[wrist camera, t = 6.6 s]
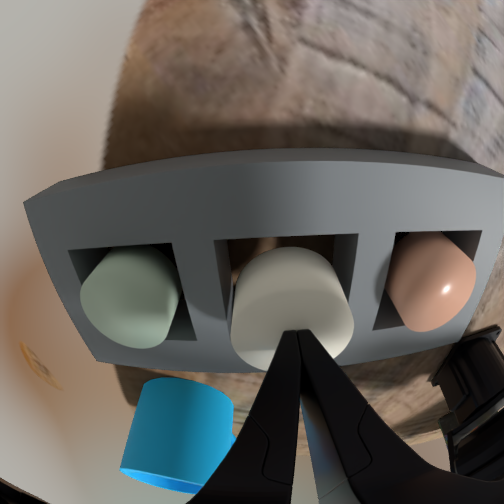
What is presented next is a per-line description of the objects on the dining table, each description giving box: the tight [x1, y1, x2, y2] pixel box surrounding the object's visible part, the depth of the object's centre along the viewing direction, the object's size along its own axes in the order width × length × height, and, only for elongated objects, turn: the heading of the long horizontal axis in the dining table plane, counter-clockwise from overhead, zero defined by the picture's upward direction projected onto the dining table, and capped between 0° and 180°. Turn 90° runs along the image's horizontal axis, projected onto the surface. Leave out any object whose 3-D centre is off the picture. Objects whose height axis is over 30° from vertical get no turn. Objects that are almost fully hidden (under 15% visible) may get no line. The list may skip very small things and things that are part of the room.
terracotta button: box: [384, 231, 476, 332], centre depth 10 cm, size 4×4×2 cm
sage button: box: [80, 244, 182, 349], centre depth 11 cm, size 4×4×2 cm
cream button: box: [230, 247, 354, 371], centre depth 9 cm, size 4×4×2 cm
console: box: [23, 148, 504, 373], centre depth 12 cm, size 22×10×3 cm, turn 94°
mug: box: [120, 377, 236, 494], centre depth 18 cm, size 12×8×8 cm
